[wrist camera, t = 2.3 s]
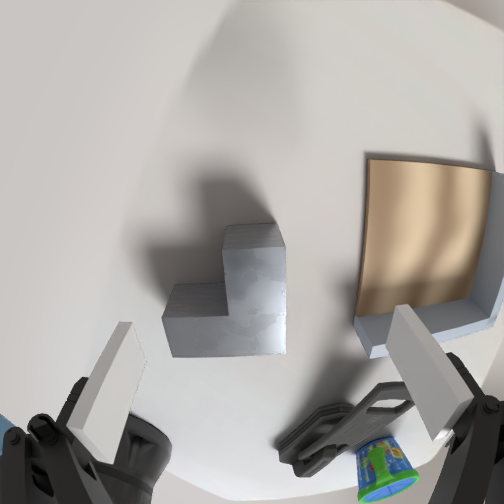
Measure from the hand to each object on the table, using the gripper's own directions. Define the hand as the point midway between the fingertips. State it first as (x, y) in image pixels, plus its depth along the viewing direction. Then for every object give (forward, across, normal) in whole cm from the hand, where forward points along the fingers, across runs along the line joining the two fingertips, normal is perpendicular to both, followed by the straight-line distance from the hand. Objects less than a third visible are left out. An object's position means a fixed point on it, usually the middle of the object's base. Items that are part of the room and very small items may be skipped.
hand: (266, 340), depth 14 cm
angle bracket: (+11, -3, -2) cm, 12 cm away
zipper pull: (+11, +9, -24) cm, 28 cm away
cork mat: (+11, +17, 0) cm, 20 cm away
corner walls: (+11, +17, -1) cm, 21 cm away
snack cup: (+11, +19, -39) cm, 45 cm away
